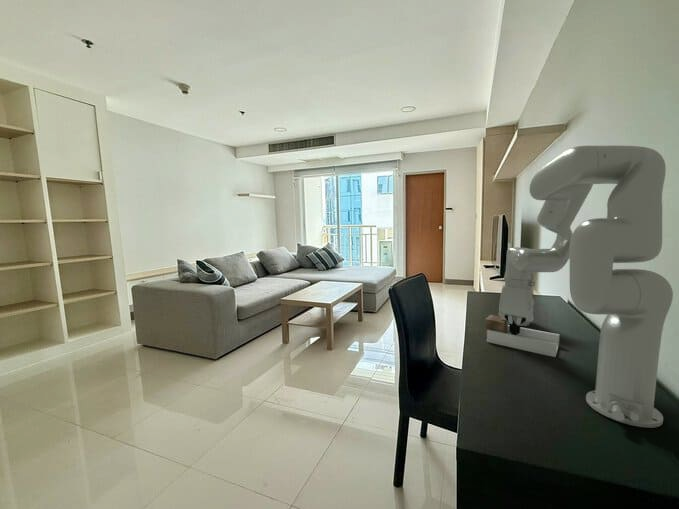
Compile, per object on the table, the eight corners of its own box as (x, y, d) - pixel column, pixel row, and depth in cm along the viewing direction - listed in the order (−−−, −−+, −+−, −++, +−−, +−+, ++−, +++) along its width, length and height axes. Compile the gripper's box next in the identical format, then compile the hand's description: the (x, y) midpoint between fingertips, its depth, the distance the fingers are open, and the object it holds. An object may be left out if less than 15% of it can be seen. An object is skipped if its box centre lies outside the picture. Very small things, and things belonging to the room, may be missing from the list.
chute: (558, 345, 105) (559, 334, 105) (555, 357, 96) (556, 344, 96) (494, 332, 118) (495, 322, 117) (486, 341, 109) (487, 330, 108)
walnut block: (507, 333, 113) (508, 317, 112) (502, 339, 107) (503, 322, 107) (489, 330, 117) (490, 314, 116) (484, 335, 111) (485, 319, 111)
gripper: (544, 284, 105) (541, 336, 106) (496, 279, 114) (493, 327, 116) (541, 288, 99) (538, 343, 101) (491, 282, 108) (488, 333, 110)
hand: (514, 334), depth 108 cm, fingers closed
